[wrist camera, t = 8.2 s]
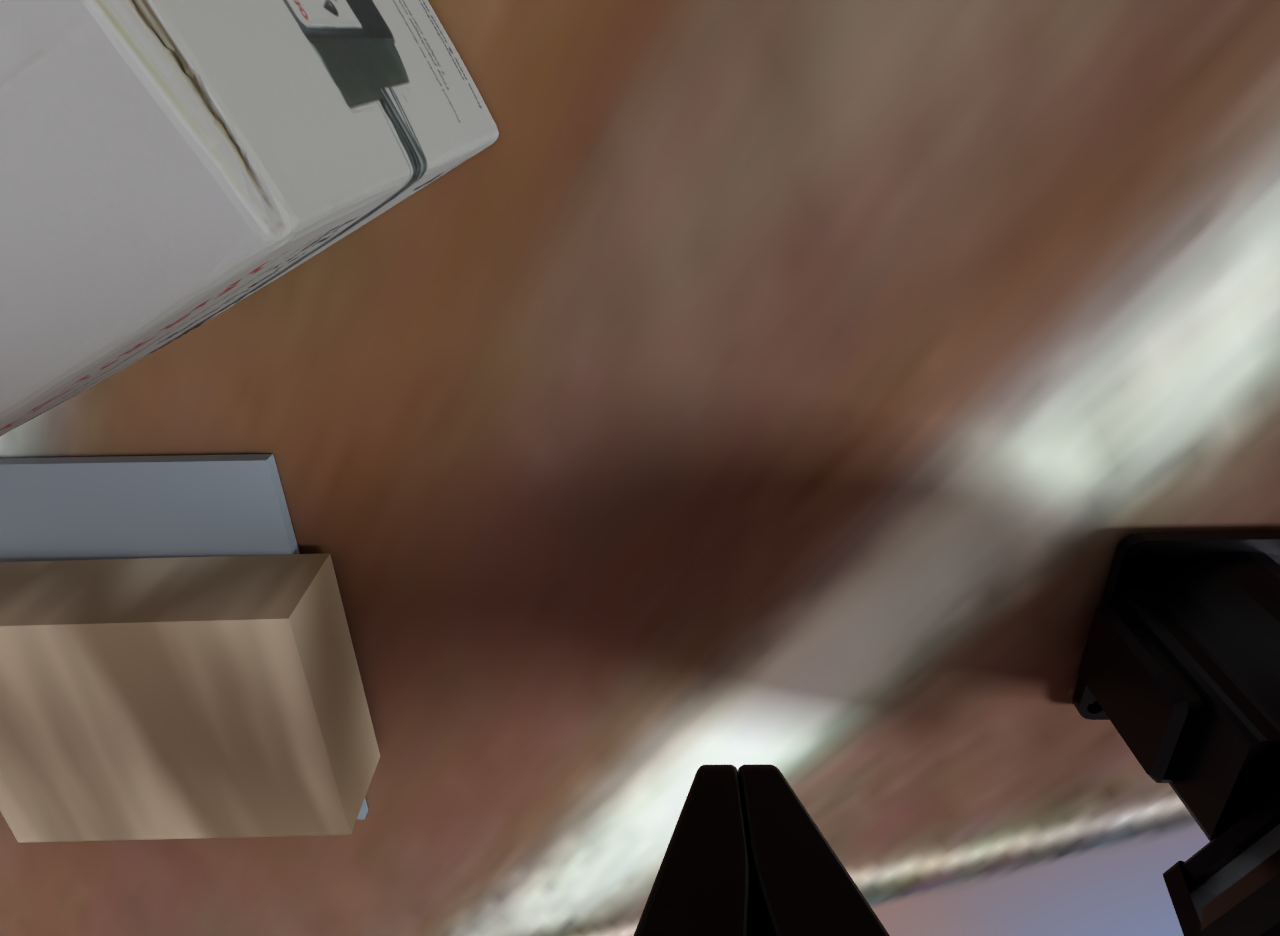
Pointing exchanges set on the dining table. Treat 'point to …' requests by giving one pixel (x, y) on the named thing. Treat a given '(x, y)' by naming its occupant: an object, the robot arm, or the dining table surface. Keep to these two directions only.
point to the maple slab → (179, 700)
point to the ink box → (198, 162)
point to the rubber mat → (143, 509)
